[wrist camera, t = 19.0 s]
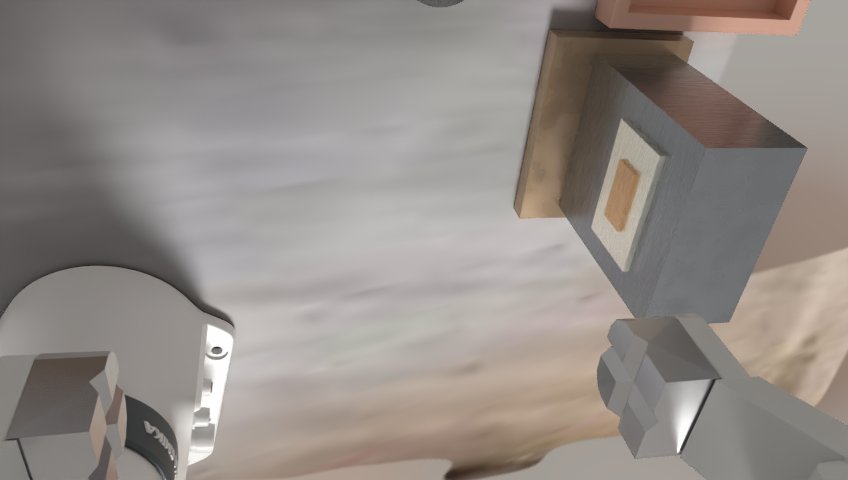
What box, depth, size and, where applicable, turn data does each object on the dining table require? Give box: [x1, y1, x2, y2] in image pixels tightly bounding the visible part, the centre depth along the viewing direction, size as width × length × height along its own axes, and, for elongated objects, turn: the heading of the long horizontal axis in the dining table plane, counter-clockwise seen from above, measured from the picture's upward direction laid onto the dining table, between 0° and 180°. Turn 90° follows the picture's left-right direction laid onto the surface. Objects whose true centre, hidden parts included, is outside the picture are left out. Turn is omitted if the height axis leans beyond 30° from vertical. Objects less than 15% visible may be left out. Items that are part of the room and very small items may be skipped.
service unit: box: [514, 30, 808, 324], centre depth 45 cm, size 14×10×16 cm
